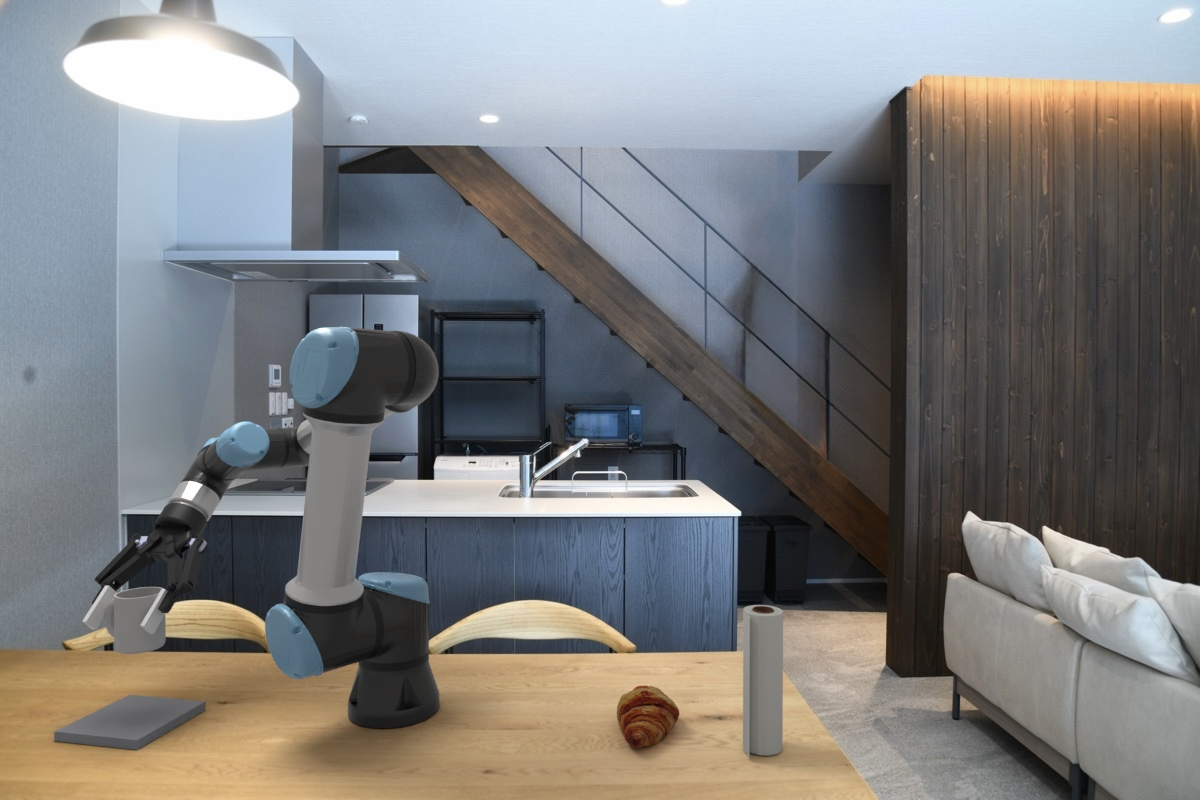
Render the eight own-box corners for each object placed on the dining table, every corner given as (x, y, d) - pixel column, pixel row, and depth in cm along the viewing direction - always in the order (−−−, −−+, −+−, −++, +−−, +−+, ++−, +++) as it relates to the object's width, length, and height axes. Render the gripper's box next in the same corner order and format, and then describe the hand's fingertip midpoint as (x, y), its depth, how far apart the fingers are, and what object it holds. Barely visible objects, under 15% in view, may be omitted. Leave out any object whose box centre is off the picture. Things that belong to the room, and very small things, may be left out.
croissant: (638, 720, 139) (617, 678, 140) (689, 697, 137) (667, 655, 138) (620, 776, 118) (595, 727, 119) (679, 749, 117) (654, 700, 117)
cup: (143, 656, 124) (142, 599, 124) (88, 652, 126) (87, 596, 126) (176, 641, 131) (175, 588, 131) (123, 637, 133) (123, 585, 133)
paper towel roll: (768, 736, 124) (769, 601, 124) (790, 753, 119) (791, 612, 118) (728, 743, 122) (728, 606, 122) (748, 761, 116) (749, 617, 116)
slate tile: (205, 710, 134) (205, 701, 134) (137, 750, 120) (137, 740, 120) (129, 703, 137) (129, 694, 137) (54, 741, 123) (54, 731, 123)
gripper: (253, 527, 141) (191, 643, 126) (144, 523, 146) (72, 634, 130) (233, 502, 136) (167, 620, 121) (120, 498, 140) (43, 611, 125)
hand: (117, 627), depth 125 cm, fingers closed on cup, 10 cm apart
